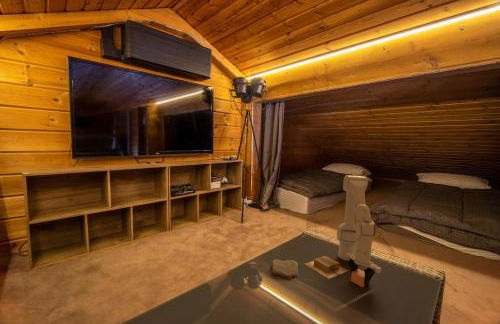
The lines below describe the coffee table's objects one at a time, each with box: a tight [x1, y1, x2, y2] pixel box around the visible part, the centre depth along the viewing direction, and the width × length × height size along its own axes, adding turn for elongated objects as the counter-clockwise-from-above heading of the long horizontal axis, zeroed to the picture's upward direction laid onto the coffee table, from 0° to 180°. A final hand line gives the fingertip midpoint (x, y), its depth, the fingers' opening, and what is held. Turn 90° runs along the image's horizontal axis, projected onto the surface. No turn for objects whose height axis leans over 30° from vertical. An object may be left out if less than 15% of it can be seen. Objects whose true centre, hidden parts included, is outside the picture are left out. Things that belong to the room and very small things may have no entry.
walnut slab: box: [313, 255, 340, 274], centre depth 109 cm, size 8×8×3 cm
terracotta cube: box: [350, 268, 365, 288], centre depth 98 cm, size 5×5×5 cm
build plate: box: [304, 260, 349, 280], centre depth 109 cm, size 14×14×1 cm
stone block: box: [271, 258, 299, 279], centre depth 105 cm, size 12×5×10 cm
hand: (360, 281), depth 98 cm, fingers closed on terracotta cube, 5 cm apart
